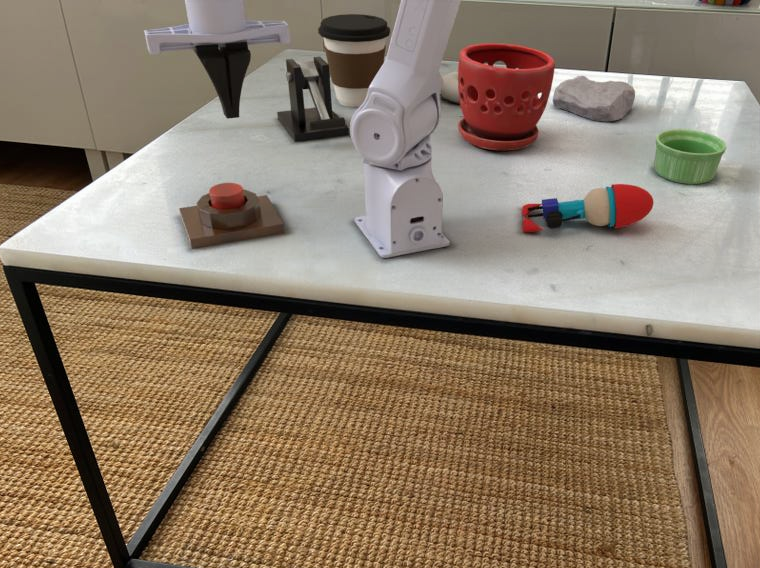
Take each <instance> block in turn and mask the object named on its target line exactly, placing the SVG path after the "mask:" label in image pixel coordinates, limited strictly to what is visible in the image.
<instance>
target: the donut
mask: <svg viewBox="0 0 760 568" xmlns="http://www.w3.org/2000/svg"><path fill="white" fill-rule="evenodd" d="M442 79H443V85H442V88H441V91H440V95H442V97H443V98H444V99H446V100H447V101H449V102H451V103H454V104H459V105H460V101H459V93H458V70H457V71H453V72H449V73H447V74H446V75H444V76H443V77H442Z"/></svg>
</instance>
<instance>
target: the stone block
mask: <svg viewBox="0 0 760 568" xmlns="http://www.w3.org/2000/svg"><path fill="white" fill-rule="evenodd" d="M635 98H636V90H635V88H634V87H633V86H632V85H631V84H630V83H628V82H626V81H621V80H620V81H618V80H617V81H616V80H615V81H614V80H607V81H595V80H591V79H589V78H588V77H587V76H585V75H577V76H576V77H574V78H570V79H565V80H564V81H561V82H560V83H559V84H558V85H557V86H556V87H555V89H554V92H553V95H552V105H553V106H555V107H556V108H558V109H562V110H564V111H568V112H570V113H572V114H574V115H577V116H580V117H582V118H586V119H588V120H591V121H596V122H608V123H610V122H614V121H619V120H623V119H624V117H625V116H626V115H627V114H628V113H629V112H630V111H631V109H632V108H633V106H634V103H635Z"/></svg>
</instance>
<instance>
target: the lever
mask: <svg viewBox="0 0 760 568" xmlns="http://www.w3.org/2000/svg"><path fill="white" fill-rule="evenodd" d="M297 64H298V65H299V66H300V67H301V75H302V86H303V90H308V92H309V94H310V96H311V97H310V98H311V100H312V102H313V105H314V108H316V110H317V113H318V116H319V118H320V120H315V121H308V128H309V131H318V130H326V129H334V128H342V127H345V125H346V126H347V124H346V119H345V117H344V116H341V117H339V118H332V119H330V118H329V115H328V113H327V110H326V107H325V105H324V102H323V99H322V97H321V94H320V91H319V89H318V82H319V74H318V71H317V69H316V66H315V63H314V60H309V61H308V60H307V61H298V63H297Z"/></svg>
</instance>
